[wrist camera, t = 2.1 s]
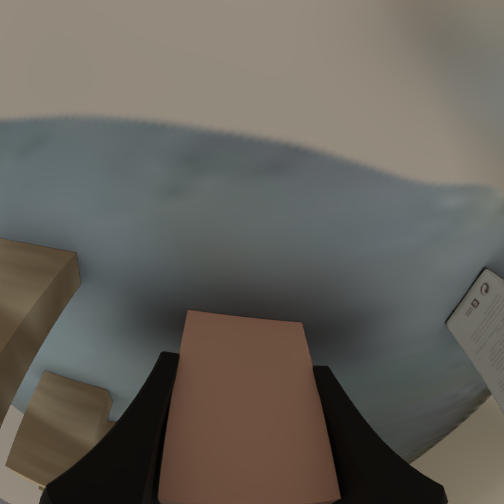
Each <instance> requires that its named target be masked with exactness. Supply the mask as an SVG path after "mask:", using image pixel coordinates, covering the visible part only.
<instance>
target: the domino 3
mask: <svg viewBox="0 0 504 504" xmlns="http://www.w3.org/2000/svg"><path fill="white" fill-rule="evenodd" d="M179 354H180V358H179V363H178V369H177V375H176V380H175V383H174V386H173V391H172V397H171V403H170V409H169V416H168V422H167V429H166V436H165V443H164V450H163V457H162V465H161V473H160V482H159V491H158V500H159V502H160V503H161V504H331V503H333V502H335V501H337V500H339V499H341V497H340V491H339V486H338V481H337V476H336V471H335V466H334V461H333V456H332V451H331V446H330V442H329V437H328V432H327V428H326V423H325V418H324V414H323V409H322V405H321V400H320V397H319V394H318V390H317V387H316V382H315V378H314V374H313V369H312V368H313V366H312V362H311V357H310V353H309V349H308V345H307V341H306V337H305V333H304V329H303V325H302V322H290V321H279V320H268V319H258V318H249V317H240V316H232V315H224V314H216V313H208V312H201V311H193V310H188V312H187V317H186V321H185V326H184V331H183V336H182V342H181V347H180V352H179Z"/></svg>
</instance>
